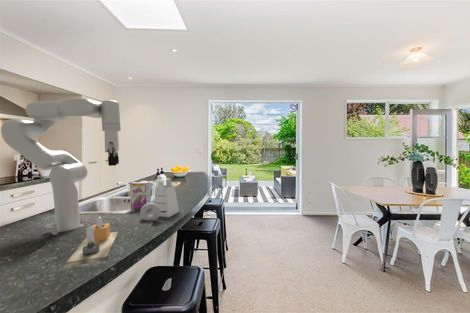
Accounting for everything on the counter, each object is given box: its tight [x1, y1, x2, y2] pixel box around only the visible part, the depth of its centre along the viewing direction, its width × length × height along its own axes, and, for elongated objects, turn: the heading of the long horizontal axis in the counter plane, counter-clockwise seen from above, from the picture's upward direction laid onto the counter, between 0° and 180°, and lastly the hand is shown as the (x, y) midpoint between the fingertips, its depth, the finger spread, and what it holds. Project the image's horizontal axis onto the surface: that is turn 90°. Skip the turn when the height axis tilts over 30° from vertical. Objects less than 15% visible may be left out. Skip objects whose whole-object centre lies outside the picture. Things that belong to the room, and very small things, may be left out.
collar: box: [92, 222, 111, 242], centre depth 102 cm, size 6×6×5 cm
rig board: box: [66, 231, 119, 267], centre depth 95 cm, size 12×25×2 cm, turn 17°
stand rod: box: [96, 216, 103, 228], centre depth 102 cm, size 2×2×9 cm
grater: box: [152, 177, 180, 218], centre depth 140 cm, size 10×10×20 cm
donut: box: [139, 202, 160, 222], centre depth 126 cm, size 10×4×10 cm, turn 106°
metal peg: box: [83, 225, 99, 256], centre depth 88 cm, size 5×5×10 cm
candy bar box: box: [129, 181, 151, 210], centre depth 153 cm, size 11×5×16 cm, turn 77°
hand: (113, 164), depth 114 cm, fingers open, 9 cm apart
